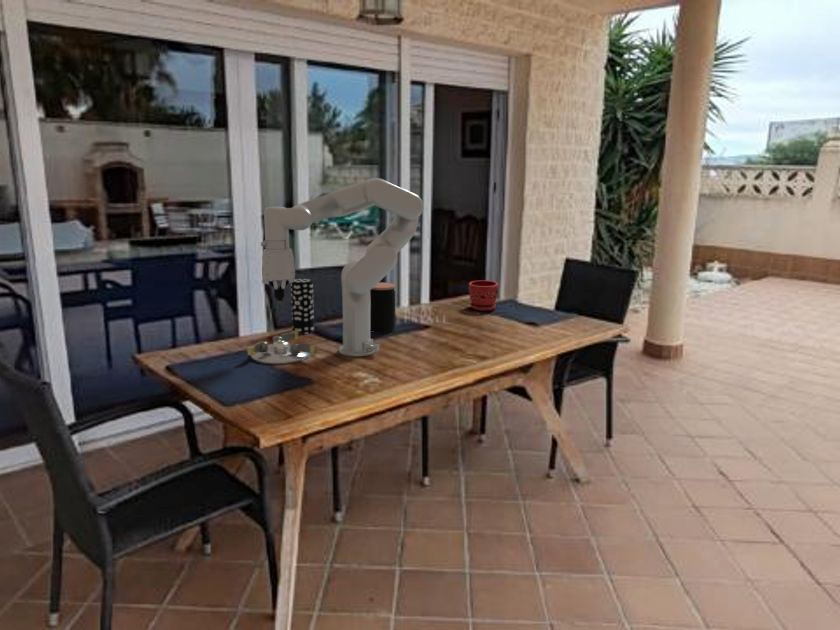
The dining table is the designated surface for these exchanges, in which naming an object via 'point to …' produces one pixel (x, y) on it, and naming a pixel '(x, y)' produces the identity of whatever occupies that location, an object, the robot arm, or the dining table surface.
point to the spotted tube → (302, 306)
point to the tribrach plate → (279, 354)
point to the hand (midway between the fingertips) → (279, 300)
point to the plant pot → (483, 294)
